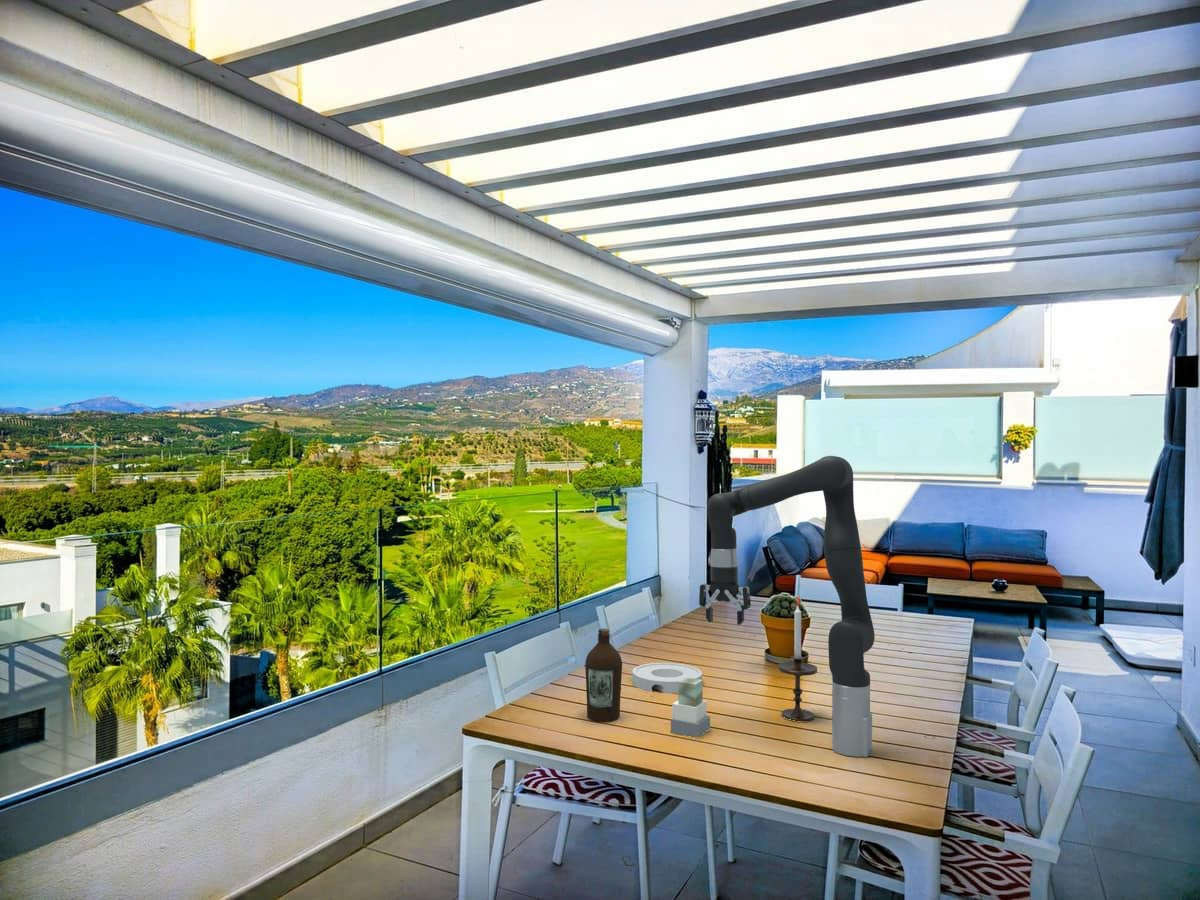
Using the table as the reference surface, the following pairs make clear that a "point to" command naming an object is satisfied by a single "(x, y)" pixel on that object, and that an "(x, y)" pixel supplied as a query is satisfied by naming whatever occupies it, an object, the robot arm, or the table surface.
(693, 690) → the sage block
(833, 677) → the robot arm
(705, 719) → the slate base block
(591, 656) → the olive oil
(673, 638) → the table surface
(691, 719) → the cream top block
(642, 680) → the ashtray
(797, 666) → the candlestick
